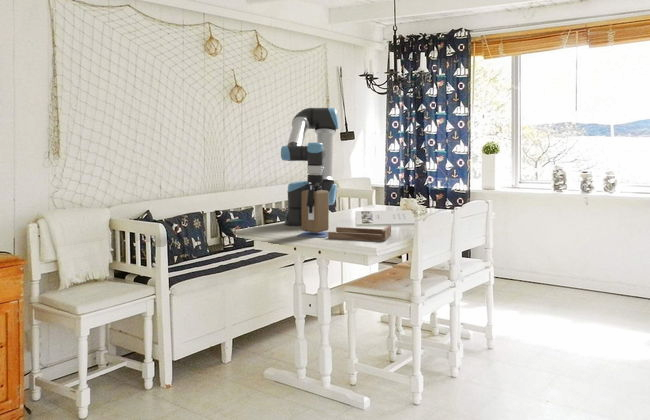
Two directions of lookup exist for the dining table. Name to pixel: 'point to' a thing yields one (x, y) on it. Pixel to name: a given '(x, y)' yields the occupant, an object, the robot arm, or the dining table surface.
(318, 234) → the blue square plate
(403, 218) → the dining table surface
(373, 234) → the frame
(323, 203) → the wooden block
